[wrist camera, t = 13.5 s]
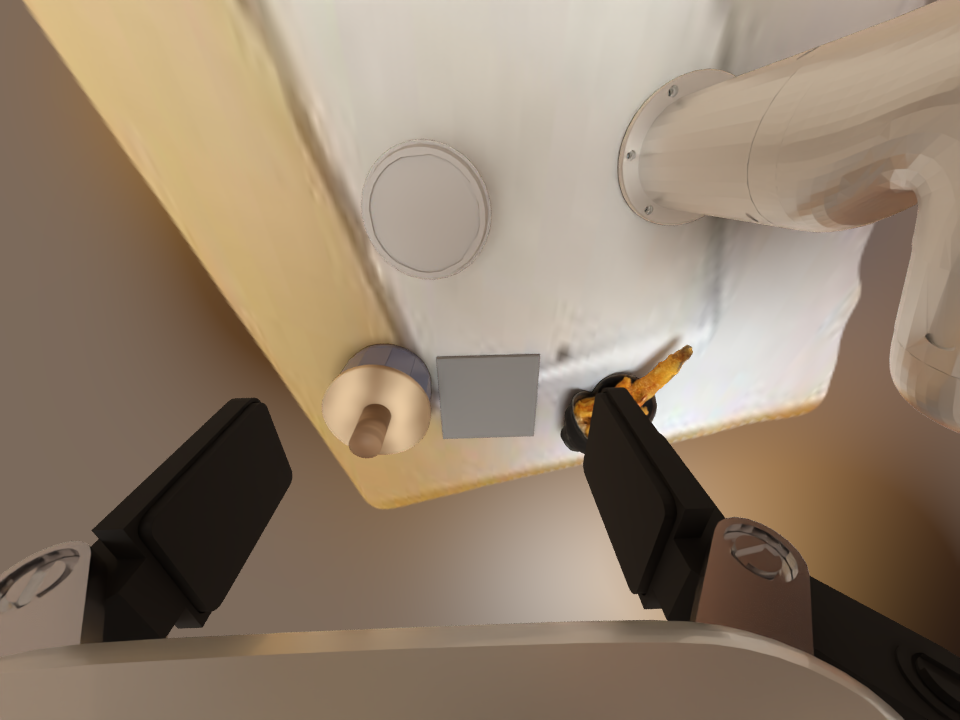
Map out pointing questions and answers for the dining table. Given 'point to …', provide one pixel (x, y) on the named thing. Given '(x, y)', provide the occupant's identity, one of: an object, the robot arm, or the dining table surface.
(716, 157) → the robot arm
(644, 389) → the black dish with food
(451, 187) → the disposable coffee cup
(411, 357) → the bowl
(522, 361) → the mat
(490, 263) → the dining table surface
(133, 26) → the dining table surface
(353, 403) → the lid
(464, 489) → the dining table surface
